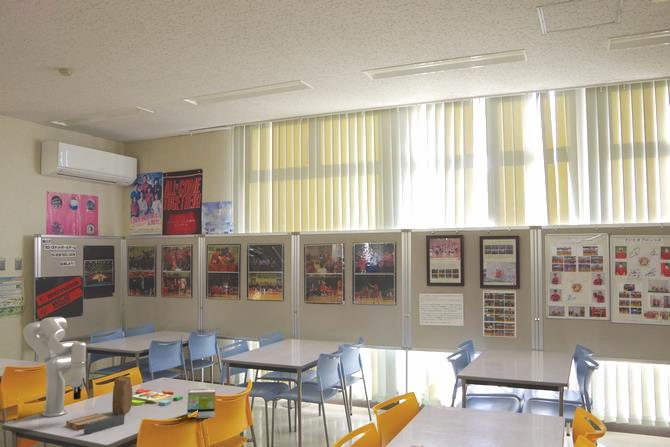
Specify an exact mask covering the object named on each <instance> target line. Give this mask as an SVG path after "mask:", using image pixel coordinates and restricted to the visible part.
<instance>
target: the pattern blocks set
mask: <svg viewBox="0 0 670 447" xmlns="http://www.w3.org/2000/svg"><path fill="white" fill-rule="evenodd" d="M174 394H175V393H174V391H173V390H162V392H156V391H152V390H151V389H147V388H146V389H144V388H138V389H136V394H132V406H143V404H144V405H146V403H150V402H151V404H158V406H163V407H167V406H170V405H171V403H172V401H173V402H174V401H176V402H178V401H182V400H183V399H184V397H183V395H178V396H175V397H174V396H173V395H174ZM170 399H172V400H170Z"/></svg>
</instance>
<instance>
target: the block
mask: <svg viewBox="0 0 670 447" xmlns="http://www.w3.org/2000/svg"><path fill="white" fill-rule="evenodd" d="M131 379H132V378H131V376H120V377H118V378H115V380H114V381H113V382H114V383H113V384H114V385H113V387H112V389H113V390H112V413H113V414H115V415H118V414H127V413H128V412H130V410H131V408H132V406H133V405H132V396H133V386H132V380H131Z"/></svg>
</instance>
